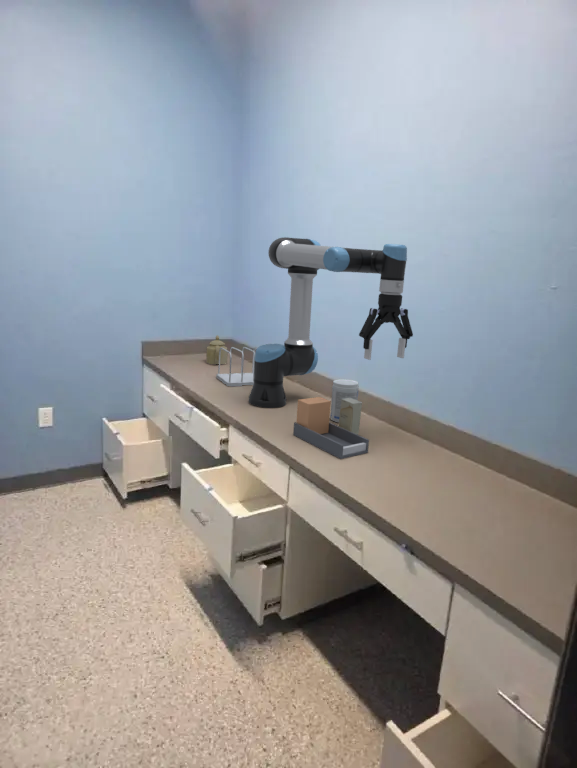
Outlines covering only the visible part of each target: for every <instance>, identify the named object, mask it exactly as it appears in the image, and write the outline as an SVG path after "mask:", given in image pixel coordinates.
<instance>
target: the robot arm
mask: <svg viewBox="0 0 577 768" xmlns="http://www.w3.org/2000/svg"><path fill="white" fill-rule="evenodd" d="M407 257H408V247H407V245H406V244H400V243H399V244H396V243H385V244H384V245H383V248H382V249H381V250H377V249H366V248H364V249H363V248H348V247H343V246H328V245H321V244H320V242H318V240H314V239H309V238H298V237H297V238H296V237H288V236H287V237H286V236H284V237H278V238H276V239H275V240H273V241H272V242H271V244H270V245H269V248H268V258H269V260H270V262H271V263H272V264H273V265H274V266H275V267H277V268H280V269H286V270H287V274H288V275H289V276H290V279H291V281H290V298H289V314H288V315H289V317H288V319H289V320H288V321H289V322H288V337H287V339H285V341H283V342H284V344H281V343H268V344H266V343H265V344H261V345H259V346H257V347H258V348H255V351H254V352H255V358H254V359H255V367H254V370H253V371H254V384H253V386H252V388H251V390H250V393H249V396H248V404H250V405H252V406H254V407H258V408H265V409H273V408H274V409H275V408H281V407H285V406H286V404H287V396H286V392H285V389H284V377H292V376H303V375H308V374H311V373H312V372H313V371H314V370H315V369H316V367H317V365H318V361H319V355H318V353H317V349H316V347H315V346H314V343H313V342H312V340H311V339H310V334H311V320H312V319H311V317H312V302H313V301H312V300H313V299H312V298H313V284H314V279H315V277H316V276H318V271H319V270H326V271H329V272H333V273H340V272H341V273H358V274H359V273H363V274H380V280H379V289H378V292H380V293H379V294H378V299H377V300H378V302H377V305H378V308H373V307H370V308H369V312H368V316H367V318H366V319H365V322H364V323H363V326H362V328H361V330H360V331H359V333H358V336H359V337H361V338H363V346H362V348H363V349H364V353H363V354H364V355H363V358H364V359H366V360H369V361H371V359H372V352H373V351H372V350H373V341H374V339H371V338H372V337H373V336H374V335H375V333H376V332H377V331H378V330H379V328H380V327H381V326H382V325H383V324H385V323H386V324H387V323H392V324H393V325H394V327H395V329H396V330H397V332H398V334H399V336H400V337H399V338H398V344H397V354H396V357H397V358H400V359H404V358H405V351H406V350H405V349H407V346H408V344H407V343H408V340H409V339H411V337H414V333H413V330H412V325H411V321H410V319H409V309H407V308H401V307H402V303H403V295H402V294H403V292H404V285H405V274H406V273H405V272H406V267H407V261H408V260H407V259H408V258H407ZM399 316H400V317H399Z"/></svg>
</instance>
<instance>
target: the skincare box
mask: <svg viewBox="0 0 577 768" xmlns="http://www.w3.org/2000/svg"><path fill="white" fill-rule="evenodd" d="M362 408H363V402H362V401H360V400H355V399H353V398H344V399H342V400H341V409H340V418H339V423H338V426H339V427H341V428H343V429H346V430H348V431H350V432H353V433H355V434H357V435H359V431H360V425H361V417H362V416H361V414H362Z"/></svg>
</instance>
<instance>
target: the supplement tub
mask: <svg viewBox="0 0 577 768" xmlns="http://www.w3.org/2000/svg"><path fill="white" fill-rule="evenodd" d="M331 390H332V391H331V400H330V401H331V406H330V420H331V421H333V422H335V423H338V424H339V418H340V409H341V400H342V399H344V398H353V399H355V400H358V398H359V382H358V381H357V380H352V379H345V378H341V379H340V378H339V379H334V380H333V381H332V387H331ZM358 401H359V400H358Z"/></svg>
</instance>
